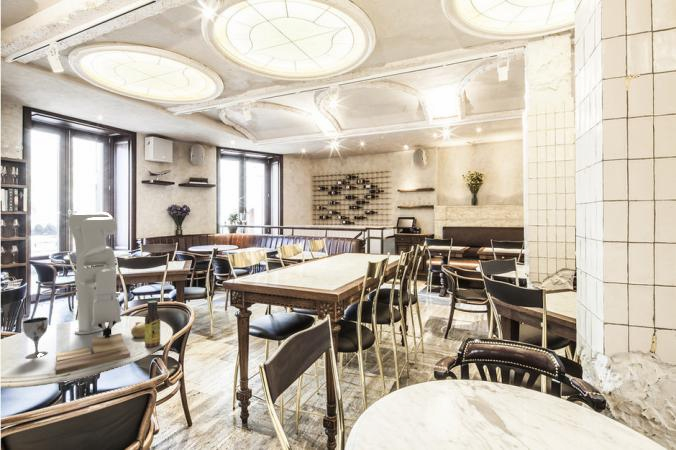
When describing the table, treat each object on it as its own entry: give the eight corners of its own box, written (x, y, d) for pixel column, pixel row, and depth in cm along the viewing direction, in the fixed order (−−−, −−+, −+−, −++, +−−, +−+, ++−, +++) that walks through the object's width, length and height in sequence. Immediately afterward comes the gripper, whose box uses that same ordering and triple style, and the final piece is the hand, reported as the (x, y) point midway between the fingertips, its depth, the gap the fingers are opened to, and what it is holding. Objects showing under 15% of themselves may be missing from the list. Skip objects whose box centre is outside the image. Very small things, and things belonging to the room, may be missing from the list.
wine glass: (53, 352, 146) (52, 318, 145) (31, 360, 139) (30, 324, 138) (41, 350, 149) (40, 316, 148) (19, 357, 141) (17, 322, 141)
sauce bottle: (153, 348, 150) (152, 304, 149) (141, 347, 152) (140, 303, 151) (164, 342, 157) (163, 300, 156) (152, 341, 158) (151, 299, 157)
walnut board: (55, 365, 134) (55, 362, 134) (126, 349, 149) (126, 346, 149) (55, 373, 127) (55, 370, 127) (130, 356, 142) (130, 352, 142)
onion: (150, 332, 170) (150, 318, 170) (149, 337, 163) (149, 323, 163) (132, 335, 167) (131, 320, 167) (130, 340, 160) (129, 325, 159)
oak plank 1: (56, 357, 142) (56, 353, 142) (89, 350, 150) (89, 347, 150) (57, 364, 135) (57, 360, 135) (91, 356, 142) (91, 353, 142)
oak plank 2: (91, 341, 150) (91, 338, 149) (121, 335, 157) (121, 333, 156) (94, 355, 143) (94, 353, 142) (124, 348, 150) (124, 346, 149)
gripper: (124, 292, 159) (125, 330, 160) (84, 297, 149) (85, 338, 150) (127, 295, 153) (128, 335, 154) (86, 301, 143) (87, 343, 144)
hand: (107, 336), depth 152 cm, fingers closed
